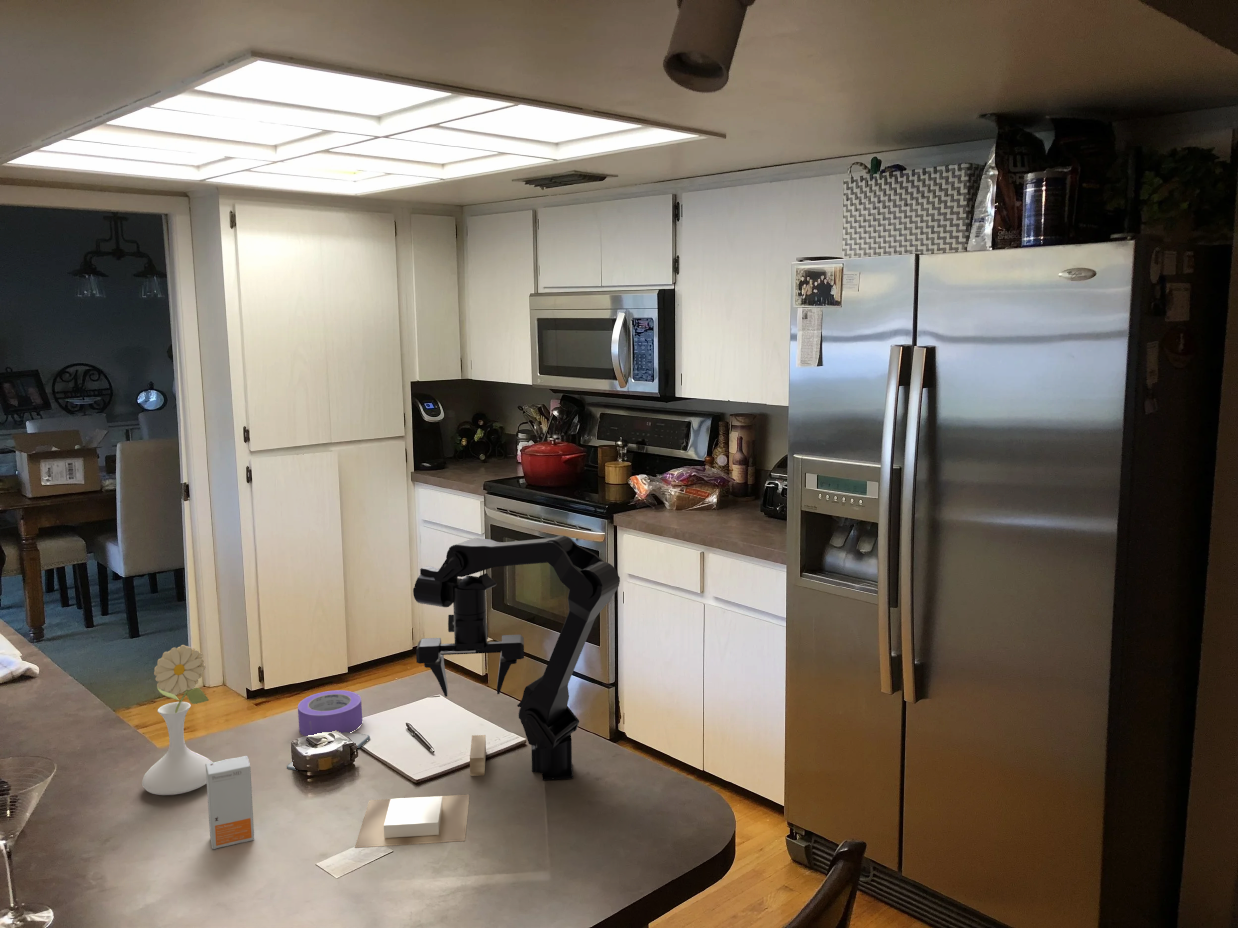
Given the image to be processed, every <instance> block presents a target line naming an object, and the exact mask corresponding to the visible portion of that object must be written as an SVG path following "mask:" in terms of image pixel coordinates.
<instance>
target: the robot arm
mask: <svg viewBox="0 0 1238 928" xmlns="http://www.w3.org/2000/svg"><path fill="white" fill-rule="evenodd" d="M533 564H549V565H550V566H551V567H552V568H553V570H554V572H555V573H556V575H557V577H558V579H559V580H560V582H561V583H562V584H563V585H564V586H565V587H567V588H568V594H567V604H568V613H567V616H566V618H565V621H564V623H563V626H562V628H561V630H560V633H559V636H558V637H557V640H556V642H555V645H554V648H553V649H552V652H551V655H550V658H549V659H548V662H547V666H546V667H545V669H544V673H543V675H542V676H540V677H538V678H537V679H535V680H534V681H533V682H530V684H528V685H526V686H525V688H524V690H523V693H522V698H521V700H520V702H519V703H518V704H517V707H518V708H519V710H518V719H519V720H520V723H521V725H522V727H523V730H524V731H523V732H524V733H525V737H526V740H527V742H528V744H529V745H530V746H531V748H530V750H531V772H532V773H536V774H542V775H541V777H542V780H543V781H547V780H548V781H549V780H550V781H551V780H565V779H566V780H567V779H573V778H574V769H573V746H572V745H573V744H572V743H573V742H572V741H573V740H572V734H573V733H574V732H576V731H577V730H578V727H579V723H580V719H579V718H578V717H577V716H576V715H575V713H574V712H573V711H572V710H571V708H570V707H569V706H568V705H569V704H568V703H569V699H570V698H569V697H570V695H569V693H570V692H569V683H570V680H571V678H572V676H573V674H574V671H575V668H576V666H577V664H578V661H579V659H580V656H581V654H582V652H583V648H584V647H585V644H586V642H587V640H588V637H589V635H590V633H591V631H592V627H593V625H594V622H595V620H596V618H597V616H598V615H599V614H600V612H602V610H603V609H604V608H605V607H606V605H608V603H609V602H610V601H611V600H612V598H613V597H614V594H615V593H616V592H617V590H618V588H619V587H620V584H621V578H620V577H621V576H619V574H618V571H617V569H616V567H615V566H613V565H612V564H611V563H609V562H606V561H604V560H603V559H602V558H601V557H599V555H597V553H594V552H592V551H591V550H588V549H587V548H584V547H582V546H580V545H578V543H576V542H575V541H574V540H573V539H572V538H570V537H569V536H566V535H558V536H556V537H547V538H537V539H527V540H516V541H515V540H514V541H506V542H504V541H503V542H501V541H495V540H493V539H489V538H480V537H473V538H470V539H467V540H465V541H462V542H459V543H456V544H453V545H451V546H449V548H448V550H447V552H446V558H445V560H444V562H443V563H442V564H441V567H440V568H437V567H434V566H431V565H426V566H424V567H422V568H420V569H419V572H420V573H419V575H418V577H417V578H416V580H415V584H414V586H413V589H412V590H413V591H412V592H413V593H412V594H413V598H414V600H415V601H416V603H418V604H421V605H427V606H433V607H434V606H435V607H441V608H449V607H451V606H452V607H453V614H448V616H447V620H448V621H447V628H448V629H447V630H448V633H453V636H454V643H442V638H441V637H429V638H428V637H427V638H426V637H425V638H421V639H420V640H419V641H418V643H417V645H416V646H417V647H416V650H415V651H416V652H415V655H416V658H415V659H416V663H417V664H424V668H427V669H430V671H431V672H432V674H433V675H434V677H435V678H436V680H437V682H438V684H439V687H440V688H441V691H442V693H443V695H444V697H445V698H446V697H448V696H449V694H448V693H449V692H448V691H449V689H448V688H449V687H448V681H447V673H446V667H445V659H444V656H448V655H449V656H451V655H472V654H494V653H495V654H496V653H497V654H499V653H500V655H499V664H498V672H497V680H496V681H497V682H496V683H497V684H496V694H497V695H500V693H501V691H502V687H503V684H504V681H505V678H506V675H507V673H508V671H509V670H510V667H511V666H512V665H516V664H517V662H518V660H524V659H525V639H524V636H522V634H503V635H501V641H488V639H489V638H488V637H489V630H488V629H489V628H488V627H489V625H488V623H487V621H488V620H487V619H488V618H487V590H489V589H491V588H494V587H496V586H497V582H496V581H495V580H494V579H493V578H492V577H490V576H489V574H488V573H487V572H486V573H484V574H483V573H482V574H480V575H478V576H475V574H476V573H479V572H480V573H481V572H483V571H486V570H489V569H492V568H496V567H497V568H498V567H508V566H510V567H511V566H523V565H533ZM578 568H579V569H580V570H579V569H578ZM473 574H474V575H473Z"/></svg>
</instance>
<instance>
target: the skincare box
mask: <svg viewBox="0 0 1238 928" xmlns="http://www.w3.org/2000/svg"><path fill="white" fill-rule="evenodd" d="M212 762H213V761H212ZM205 766H206V780H207V783H206V794H207V809H208V810H207V811H208V823H209V824H208V825H209V837H210V843H211V849H212V850H216V849H219V848H223V847H228V846H232V845H237V844H242V843H247V842H252V841H254V840H255V829H254V827H255V826H254V811H253V810H254V809H253V790H252V788H253V787H252V767H251V764H250V760H249V756H248V755H243V756H238V757H231V758H226V759H222V760H219V761H214V762H213V763H207V764H205Z"/></svg>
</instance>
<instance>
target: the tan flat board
mask: <svg viewBox="0 0 1238 928" xmlns="http://www.w3.org/2000/svg"><path fill="white" fill-rule="evenodd" d="M441 796H442V802H443V809H442V816H441V823H440V829H439V835H426V836H410V837H393V838H384V823H385V819H386V815H387V811H388V807H389V803H390V800H391V799H392V798H386V799H385V798H384V799H383V798H382V799H369V800H368V803H367V807H366V810H365V813H364V816H363V819H362V823H361V826H360V829H359V833H358V835H357V840H356V843H355V846H354V848H355V849H357V848H358V849H359V848H373V847H374V848H375V847H378V848H379V847H390V846H392V847H393V846H407V845H409V846H411V845H423V844H424V845H425V844H439V843H440V844H442V843H456V842H466V835H467V823H468V814H469V813H468V812H469V806H470V805H469V802H470V794H455V795H454V794H452V795H441Z"/></svg>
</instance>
